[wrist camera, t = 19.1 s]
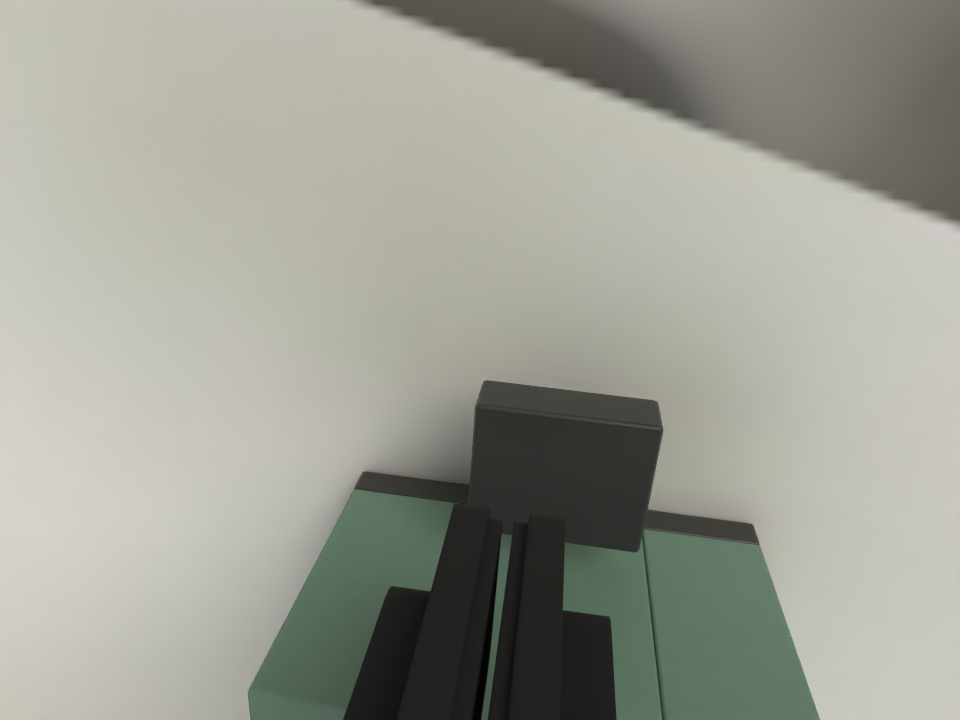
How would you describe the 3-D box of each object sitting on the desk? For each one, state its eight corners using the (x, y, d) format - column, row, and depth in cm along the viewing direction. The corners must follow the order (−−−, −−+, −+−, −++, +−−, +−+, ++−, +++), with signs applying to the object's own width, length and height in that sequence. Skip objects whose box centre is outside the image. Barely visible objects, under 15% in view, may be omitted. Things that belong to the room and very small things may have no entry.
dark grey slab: (483, 378, 15) (474, 404, 14) (659, 399, 14) (664, 427, 13) (474, 497, 16) (466, 530, 15) (635, 519, 15) (639, 555, 14)
